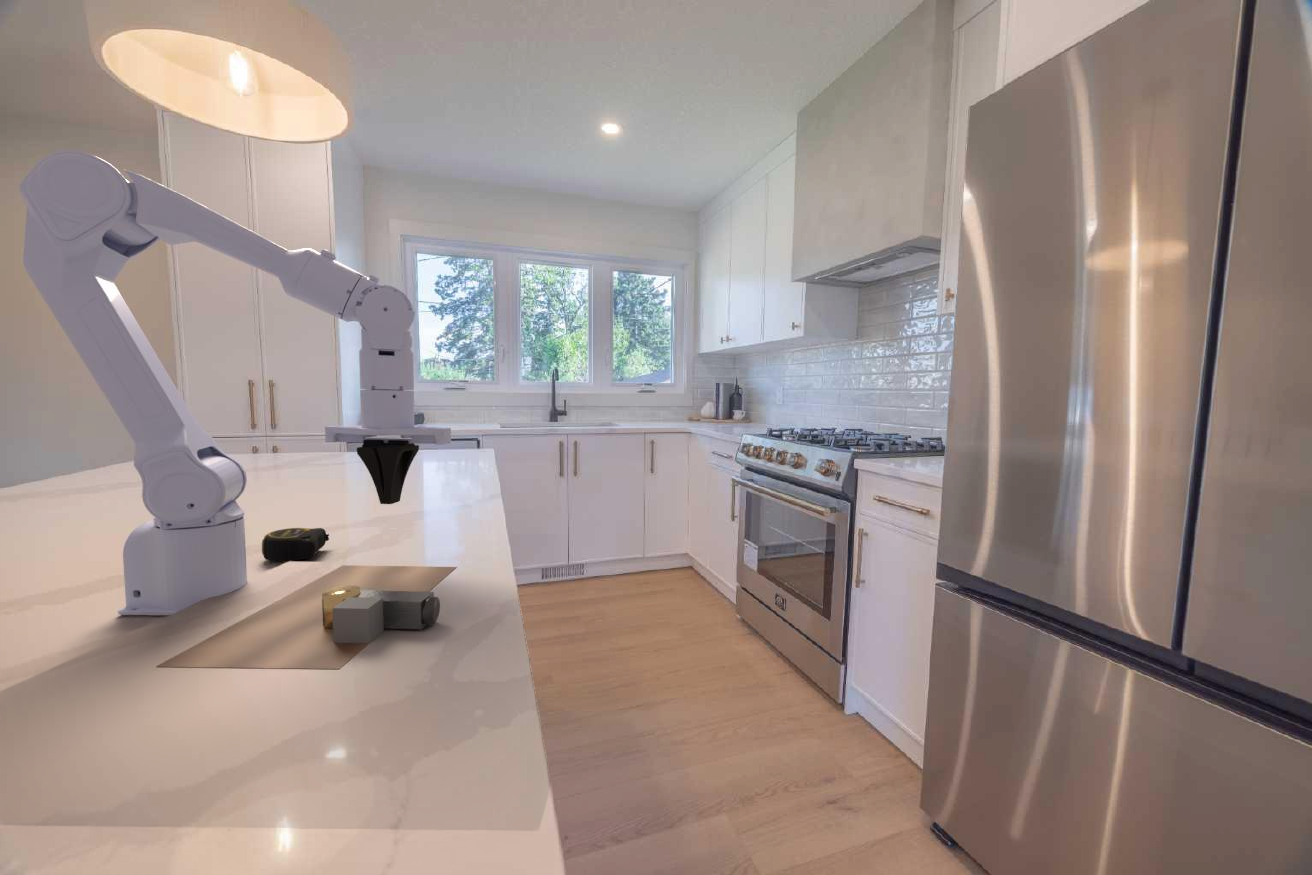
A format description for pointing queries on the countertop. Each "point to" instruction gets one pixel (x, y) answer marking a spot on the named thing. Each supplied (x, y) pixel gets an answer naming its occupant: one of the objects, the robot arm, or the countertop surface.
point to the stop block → (357, 620)
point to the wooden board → (301, 624)
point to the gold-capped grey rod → (387, 606)
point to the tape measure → (293, 544)
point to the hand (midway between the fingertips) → (390, 502)
